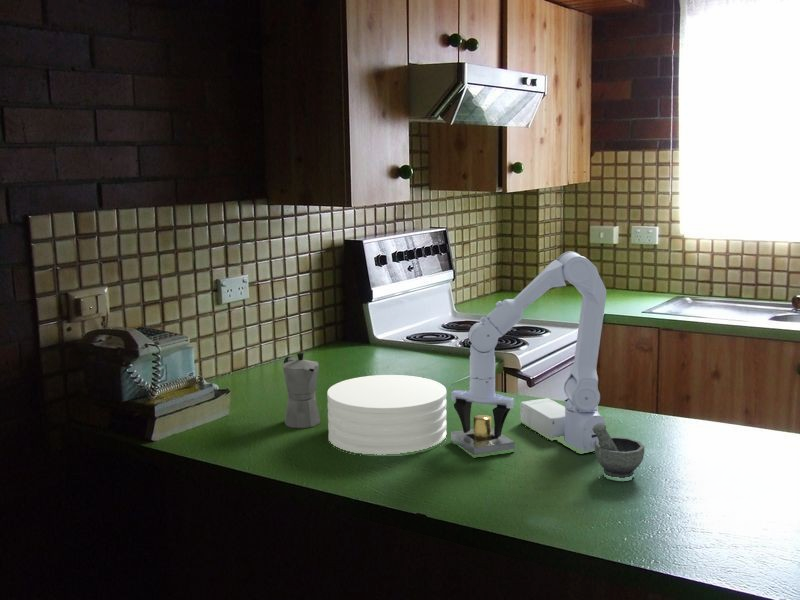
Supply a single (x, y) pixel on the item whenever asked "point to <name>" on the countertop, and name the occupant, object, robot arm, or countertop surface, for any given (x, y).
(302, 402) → the coffeepot
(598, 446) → the mortar and pestle
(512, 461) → the countertop surface
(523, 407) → the skincare box
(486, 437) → the cylinder
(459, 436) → the jig
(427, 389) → the plate stack
